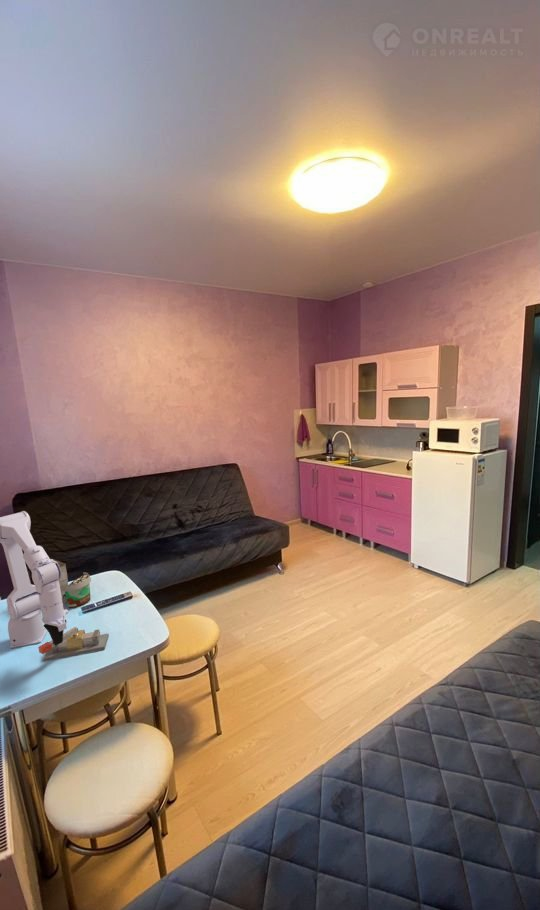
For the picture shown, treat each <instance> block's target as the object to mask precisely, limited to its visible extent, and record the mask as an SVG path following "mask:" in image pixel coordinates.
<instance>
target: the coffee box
mask: <svg viewBox="0 0 540 910" xmlns="http://www.w3.org/2000/svg"><path fill="white" fill-rule="evenodd" d="M53 560H54V561H56V562H57V563H58V565H59V567H60V569H61V578H60V579H58V580H59V584H60V590H61V596H62V602H63V605H64V604H65V603H68V602H67V598H66V594H65V592H64V591H63V588H64V586H68V585H69V580H68V573H67V566H66V563H65V562H62V561H60V560H57V559H55V558H54V559H53Z"/></svg>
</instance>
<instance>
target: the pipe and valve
mask: <svg viewBox="0 0 540 910" xmlns="http://www.w3.org/2000/svg"><path fill="white" fill-rule="evenodd" d="M85 631H86V630H85V629H80V630H79V629H78V634H77V635H75V636H71V637H69V638H68V639H66V640H64V641H63V642H62V643H60V644H58V645H56V646H54V647H53V648H52V652H53V653H58V651H63V650H68V651H71V650H76V649H81V648H83V647H84V646H89V645H93V646H95V645H98V644H99V643H100V640H101V636H100V635H101V630H100V629H95V630H94V631H91V632H85Z"/></svg>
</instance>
